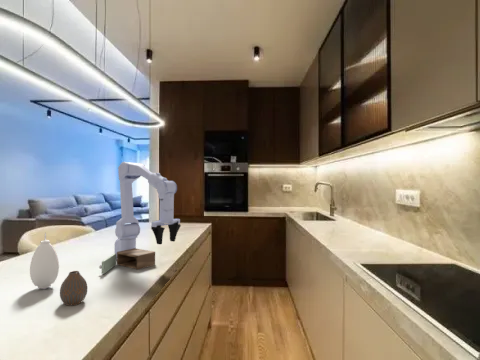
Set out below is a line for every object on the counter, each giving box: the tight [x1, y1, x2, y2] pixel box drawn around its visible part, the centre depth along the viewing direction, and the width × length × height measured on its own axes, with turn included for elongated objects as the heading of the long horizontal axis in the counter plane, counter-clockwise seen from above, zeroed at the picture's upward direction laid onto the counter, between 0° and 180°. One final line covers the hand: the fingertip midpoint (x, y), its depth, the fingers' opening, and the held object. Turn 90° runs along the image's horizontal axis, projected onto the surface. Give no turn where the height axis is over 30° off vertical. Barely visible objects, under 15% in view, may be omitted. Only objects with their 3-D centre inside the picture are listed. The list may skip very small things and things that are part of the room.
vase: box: [59, 270, 88, 306], centre depth 87 cm, size 7×7×9 cm
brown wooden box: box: [116, 247, 156, 271], centre depth 129 cm, size 13×9×6 cm
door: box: [98, 253, 117, 275], centre depth 121 cm, size 14×2×5 cm, turn 4°
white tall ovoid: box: [29, 232, 60, 290], centre depth 99 cm, size 8×8×18 cm
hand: (166, 242), depth 126 cm, fingers open, 7 cm apart
